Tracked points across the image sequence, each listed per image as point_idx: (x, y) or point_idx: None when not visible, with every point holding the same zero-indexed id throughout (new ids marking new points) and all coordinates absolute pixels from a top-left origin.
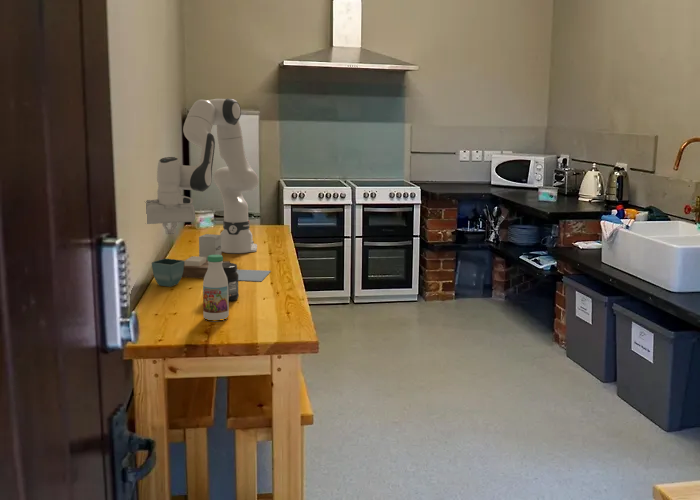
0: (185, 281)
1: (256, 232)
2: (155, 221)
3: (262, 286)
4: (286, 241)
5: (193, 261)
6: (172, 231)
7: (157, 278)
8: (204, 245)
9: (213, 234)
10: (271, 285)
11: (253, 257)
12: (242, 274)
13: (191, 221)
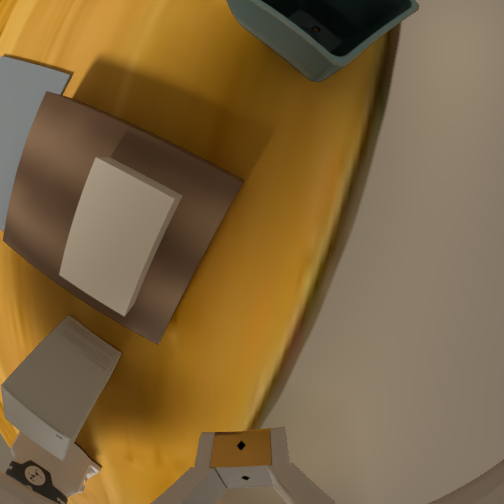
0: (216, 75)
1: (68, 499)
2: (493, 494)
3: (25, 7)
4: (7, 442)
5: (126, 172)
6: (216, 450)
7: (361, 21)
8: (63, 393)
9: (31, 439)
10: (7, 20)
11: (7, 376)
12: (6, 149)
13: (2, 474)
